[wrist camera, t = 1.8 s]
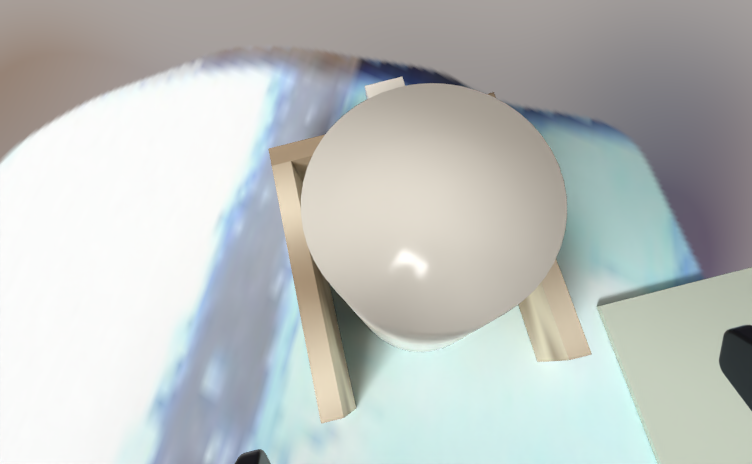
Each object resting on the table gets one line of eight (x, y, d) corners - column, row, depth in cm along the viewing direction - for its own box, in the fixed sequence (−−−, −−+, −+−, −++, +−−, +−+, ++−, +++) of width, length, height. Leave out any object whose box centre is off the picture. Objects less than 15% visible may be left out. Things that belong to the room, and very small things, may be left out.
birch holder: (555, 357, 20) (591, 354, 16) (337, 413, 20) (321, 423, 16) (479, 138, 23) (493, 92, 19) (291, 186, 23) (268, 148, 19)
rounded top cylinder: (503, 333, 20) (609, 292, 10) (370, 367, 20) (330, 363, 10) (451, 171, 22) (490, -5, 12) (332, 201, 22) (266, 51, 12)
